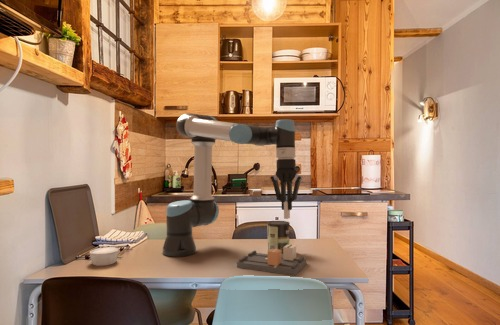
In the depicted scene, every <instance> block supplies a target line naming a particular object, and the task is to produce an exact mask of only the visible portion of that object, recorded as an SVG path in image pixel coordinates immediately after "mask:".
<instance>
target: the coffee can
mask: <svg viewBox="0 0 500 325" xmlns="http://www.w3.org/2000/svg"><path fill="white" fill-rule="evenodd" d="M266 225H267V253H266V254H268V251H269V250H271V249H280V250H282V256H283V247H284V246H286V245H290V222H289V221H288V220H287V221H286V220H270V221H267V223H266Z"/></svg>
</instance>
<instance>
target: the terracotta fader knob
mask: <svg viewBox="0 0 500 325" xmlns="http://www.w3.org/2000/svg"><path fill="white" fill-rule="evenodd" d="M267 252H268V253H267V254H268V265H274V266H278V265H279V264H280V263H282V250H280V249H271V250H269V251H268V250H267Z"/></svg>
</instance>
